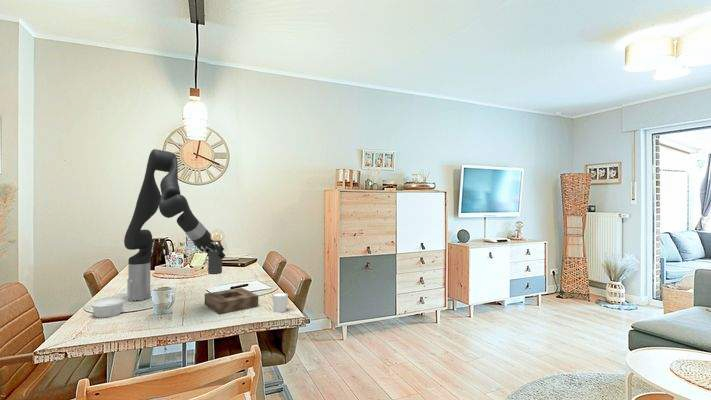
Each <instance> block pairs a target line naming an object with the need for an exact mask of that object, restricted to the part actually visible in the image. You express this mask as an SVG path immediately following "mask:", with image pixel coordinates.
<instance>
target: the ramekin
mask: <svg viewBox="0 0 711 400" xmlns="http://www.w3.org/2000/svg"><path fill="white" fill-rule="evenodd" d="M124 303H125V300H124V299H123V298H107V299H106V298H105V299H100V300H97V301H95V302H93V303H92V304H91V307H92V310H93V314H94V317H96V318H99V319H100V318H103V319H105V318H111V317H115V316H118V315H120V314H121V313H122V312H123V307H124Z"/></svg>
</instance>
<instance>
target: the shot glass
mask: <svg viewBox="0 0 711 400" xmlns="http://www.w3.org/2000/svg"><path fill="white" fill-rule="evenodd" d="M288 297H289V294H288V293H287V292H277V293H275V292H274V293H273V294H272V305H273V307H272V308H273V312H275V313H285V312H286V311H288V300H289V298H288Z"/></svg>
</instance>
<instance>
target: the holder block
mask: <svg viewBox="0 0 711 400" xmlns="http://www.w3.org/2000/svg"><path fill="white" fill-rule="evenodd" d="M203 302H204V305H205V306H206V308H207V307H208V308H209V309H210V310H212V311H214V312H215V313H216V314H218V315H223V314H227V313H232V312H238V311H243V310H249V309H253V308H257V307H259V295H258V294H256V293H254V292H252V291H250V290H248V289H246V288H243V287H239V288H238V287H237V288H232V289H225V290H219V291H213V292H207V293H204V301H203Z"/></svg>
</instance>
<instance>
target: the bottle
mask: <svg viewBox="0 0 711 400" xmlns="http://www.w3.org/2000/svg"><path fill="white" fill-rule="evenodd" d="M212 240H213V241H214V242H217V241H219V242H220V243H221V242H222V240H221V239H212ZM214 248H215V246H214V247H213V249H214ZM216 251H218V250H217V249H216ZM207 255H208V257H207V258H208V259H207V262H208V265H207V271H208V275H220V274H223V259H221V257H220V256H219V255H218V254H217V253H216V252H212V251H211V250H210V249H209V251H208V254H207Z"/></svg>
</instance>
